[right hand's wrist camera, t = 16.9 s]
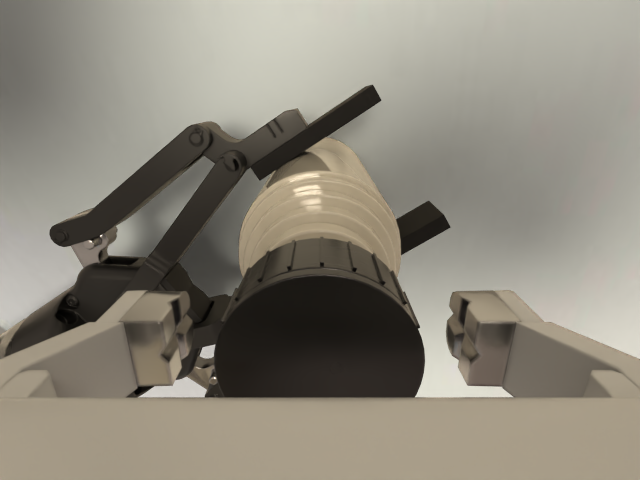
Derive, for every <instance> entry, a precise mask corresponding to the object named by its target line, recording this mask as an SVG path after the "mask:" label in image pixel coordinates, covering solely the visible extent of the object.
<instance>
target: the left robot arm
mask: <svg viewBox="0 0 640 480" xmlns="http://www.w3.org/2000/svg"><path fill="white" fill-rule="evenodd" d="M380 101H381V99H380V97H379V95H378V93H377V91H376V90H375V88H374V86H373V85H370V86H366V87H364V88H363V89H361V90H360V91H358V92H357V93H355V94H354V95H352V96H351V97H349V98H348V99H346V100H345V101H343V102H342V103H340V104H339V105H337V106H336V107H334V108H333V109H332V110H330V111H329V112H327V113H326V114H324V115H323V116H321V117H320V118H318V119H317V120H315V121H314V122H312V123H311V124H309V125H308V124H307V123H306V121H305V120H304V118H303V116H302V115H301V113H300V112H299V110H298V109H293V110H288V111H285V112H283V113H282V114H280V115H279V116H277V117H276V118H274V119H273V120H272V121H270V122H269V123H267V124H266V125H264V126H263V127H261V128H260V129H259V130H257V131H256V132H254V133H253V134H251V135H250V136H248V137H247V138H246V139H242V140H240V139H235V138H233V137H231V136H229V135H228V134H227V133H225V132H224V131H223V130H221V128H220V126H219V125H218V124H216V123H214V122H203V123H199V124H194V125H191V126H189V127H187V128H186V129H185V130H184V131H183V132H181V133H180V134H179V135H178V136H177V137H176V138H174V139H173V140H172V141H171V142H170V143H169V144H167V145H166V146H165V147H164V148H163V149H162V150H161V151H159V152H158V153H157V154H156V155H155V156H154V157H152V158H151V159H150V160H149V161H148V162H147V163H146V164H144V165H143V166H142V167H141V168H140V169H139V170H137V171H136V172H135V173H134V174H133V175H132V176H131V177H129V178H128V179H127V180H126V181H125V182H124V183H122V184H121V185H120V186H119V187H118V188H117V189H115V190H114V191H113V192H112V193H111V194H110V195H109V196H107V197H106V198H105V199H104V200H103V201H102V202H100V203H99V204H98V205H97V206H96V207H95V208H92V209H89V210H86V211H83V212H81V213H79V214H77V215H75V216H73V217H71V218H69V219H66V220H64V221H62V222H60V223H58V224H56V225H54V226H53V227H52V228H51V229H50V237H51V239H52V240H53V242H54V243H56V244H57V245H59V246H62V247H67V246H71V247H72V248H73V250H74V252H75V254H76V255H77V257H78V259H79V260H80V262H81V264H82V266H83V267H84V268H83V269H82V270H81V272H80V273H79V275H78V278H77V281H76V283H75V285H74V286H72V287H71V288H69V289H68V290H66V291H65V292H63V293H62V294H60V295H59V296H57V297H56V298H54V299H53V300H51V301H50V302H48V303H47V304H45V305H44V306H42V307H41V308H39V309H38V310H37V311H35V312H34V313H32V314H31V315H30V316H28V317H27V318H26V319H23V320H22V321H20V322H19V323H17V324H16V325H14V326H13V327H11V328H10V329H8V330H7V331H5V332H4V333H2V334H1V335H0V359H2V358H4V357H7V356H9V355H11V354H14V353H16V352H19V351H21V350H23V349H26V348H28V347H31V346H33V345H35V344H38V343H40V342H43V341H45V340H47V339H50V338H52V337H55V336H57V335H60V334H62V333H64V332H67V331H69V330H72V329H74V328H76V327H79V326H81V325H84V324H86V323H88V322H96V321H97V320H98V319H99V318H100V317H101V316H102V315H103V314H104V313H105V312H106V311H107V310H108V309H109V308H110V307H111V306H112V305H113V304H114V303H115V302H116V301H117V300H118V299H119V298H120V297H121V296H122V295H123V294H124V293H126V292H127V291H136V290H148V291H186V292H187V293H188V295H189V299H190V304H191V307H190V308H189V310H188V312H187V313H186V314H187V315H188V316H189V317H190V318H191V319H192V320H193V326H194V339H193V344H192V348H191V350H190V352H189V354H188V356H186V357H185V358H183V359H182V360H181V363H182V368H181V370H180V372H179V374H178V376H177V378H176V380H178V379H182V378H184V377H186V376H187V377H188V378H190V379H191V380H193V381H195V382H196V383H198V384H199V385H201V386H202V387H204V388H205V389H207V392H206V394H205V397H224V396H223V394H222V392H221V390H220V388H219V385H218V382H217V378H216V374H215V368H214V357H212V358H209V359H205V358H202V357H200V353H201V350H202V347H205V346H210V345H214V344H216V341H217V338H218V335H219V332H220V329H221V327H222V325H223V324H220V323H221V320H222V318H223V316H224V313H225V311H226V309H227V307H228V304H229V302H230V300H231V297H232V296H228V295H226V294H224V295H219V296H215V297H211V298H208V297H207V296H206V294H205V293H204V292H203V291H201V290H200V289H199V288H197V287H196V286H194V285H193V284H192V282H191V280H190V278H189V276H188V274H187V272H186V271H185V270H184V268H183V267H182V266H181V265H180V264H179V261H180V259H181V258H182V256H183V255H184V254H185V252H186V251H187V250H188V248H189V247H190V245H191V244H192V243H193V241H194V240H195V239H196V237H197V236H198V235H199V233H200V232H201V231H202V229H203V228H204V227H205V225H206V224H207V223H208V221H209V220H210V219H211V217H212V216H213V215H214V213H215V212H216V211H217V209H218V208H219V207H220V205H221V204H222V202H223V201H224V200H225V198H226V197H227V196H228V194H229V193H230V192H231V190H232V189H233V188H234V186H235V185H236V184H237V182H238V181H239V180H240V178H241V177H242V176H243V174H244V173H245V172H246V170H247V169H249V168H250V167H251V169H252V170H253V172H254V173H255V174H256V176H257V177H258V179H259V180H261V179H263V178H265V177H266V176H268V175H269V174H271V173H272V172H274V171H275V170H277V169H278V168H280V167H281V166H283V165H284V164H285V163H287V162H289V161H290V160H292V159H293V158H295V157H296V156H298V155H299V154H301V153H302V152H304V151H306V150H307V149H309V148H310V147H312V146H313V145H315V144H316V143H318V142H319V141H321V140H322V139H324V138H325V137H327V136H328V135H330V134H331V133H333V132H334V131H336V130H337V129H339V128H340V127H342V126H343V125H345V124H347V123H348V122H350V121H351V120H353V119H354V118H356V117H357V116H359V115H360V114H362V113H363V112H365V111H366V110H368V109H369V108H371V107H372V106H374V105H375V104H377V103H378V102H380ZM203 156H206V157H207V158H208V159H210V160H211V161H213V162H214V163H215V165H214V167H213V168H212V169H211V171H210V172H209V174H208V175H207V176H206V178H205V179H204V181H203V182H202V183H201V185H200V186H199V188H198V189H197V190H196V192H195V193H194V195H193V196H192V197H191V199H190V200H189V202H188V203H187V204H186V206H185V207H184V209H183V210H182V211H181V213H180V214H179V216H178V217H177V218H176V220H175V221H174V223H173V224H172V225H171V227H170V228H169V230H168V231H167V232H166V234H165V235H164V237H163V238H162V239H161V241H160V242H159V244H158V245H157V246H156V248H155V249H154V251H153V252H152V253H151V254H150V255H149V256H148V258H145V257H126V256H108V253H107V248H108V246H109V245H110V244H111V243H112V242H114V241H115V240H116V237H117V234H116V233H117V227H116V225H118V224H120V223H121V222H123V221H124V220H126V219H128V218H129V217H130V216H132V215H133V214H134V213H136V212H137V211H138V210H139V209H140V208H142V207H143V206H144V205H145V204H146V203H148V202H149V201H150V200H151V199H152V198H154V197H155V196H156V195H157V194H158V193H160V192H161V191H162V190H163V189H165V188H166V187H167V186H168V185H169V184H171V183H172V182H173V181H174V180H175V179H177V178H178V177H179V176H180V175H181V174H183V173H184V172H185V171H186V170H187V169H189V168H190V167H191V166H192V165H193V164H195V163H196V162H197V161H198V160H199V159H201V158H202V157H203ZM396 221H397V225H398V228H399V232H400V239H401V255H402V254H404V253H406V252H408V251H409V250H411V249H413V248H415V247H416V246H418V245H420V244H422V243H424V242H425V241H427V240H429V239H431V238H432V237H434V236H436V235H438V234H440V233H441V232H443V231H445V230H447V229H449V228H450V225H449V224H448V222H447V220H446V218H445V216H444V215H443V214H442V213H441V212H440V211H439V210H438V209H437V208H436V207H435V206H434V205H433V204H432V203H431V202H430V201H427V202H425V203H424V204H422V205H420V206H419V207H417V208H415V209H413V210H412V211H410V212H408V213H407V214H405V215H403V216H401V217H400V218H398V219H396ZM153 387H154V386H139V387H137V389H136V390H135V391H133V392H132V393H131V394H129V395H128V396H127V397H126V398H137V397H139V396H141V395H142V394H144V393H145V392H147V391H148V390H150V389H151V388H153Z"/></svg>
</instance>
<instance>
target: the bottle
mask: <svg viewBox="0 0 640 480" xmlns="http://www.w3.org/2000/svg"><path fill="white" fill-rule="evenodd" d="M320 237H324V238H328V239H336V240H341V241H345V242H348V241H351V242H352V244H354V245H357V246H359V247H361V248H363V249H365V250H367V251H369V252H370V253H372V254H373V253H375V254H376V256H377V258H379V259H380V260H381V261H382V262H383V263H384V264H385V265H386V266H387V267H388V268H389V269H390V271H392V270H393V271H394V272H395V275H396V277H397V276H398V272H399V269H400V262H401V239H400V232H399V228H398V225H397V221H396V219H395V217H394V215H393V212H392V211H391V209H390V207H389V206H388V204H387V203H386V201H385V199H384V198H383V196H382V195H381V193H380V192H379V190H378V188H377V187H376V185H375V184H374V182H373V180H372V179H371V177H370V176H369V174H368V172H367V171H366V169H365V168H364V166H363V164H362V163H361V161H360V160H359V158H358V157H357V155H356V154H355V153H354V152H353V150H351V149H350V148H349V147H348V146H347V145H345V144H344V143H342V142H340V141H338V140H335V139H332V138H327V137H325V138H324V139H322V140H321V141H319V142H318V143H316V144H315V145H313V146H312V147H310V148H309V149H307V150H306V151H304V152H302V153H301V154H299V155H298V156H296V157H295V158H293V159H292V160H290V161H289V162H287V163H285V164H284V165H283V166H281V167H280V168H278V169H277V170H275V171H274V172H272V174H271V175H270V177H269V179H268V180H267V182H266V183H265V185H264V186H263V188H262V189H261V191H260V193H259V194H258V196H257V197H256V199H255V200H254V202H253V204H252V205H251V207H250V208H249V210H248V212H247V213H246V216H245V218H244V221H243V223H242V227H241V230H240V236H239V265H240V271H241V274H242V277H244V275H245V273H246V270H247V268H248V267H250V268H251V267H252V266H253V265H254V264H255V263H256V262H257V261H258V260H259V259H260V258H262V257H263V256H264V255H266V252H267V251H272V250H274V249H276V248H278V247H280V246H282V245H285V244H287V243H291V242H292V240H295V241H298V240H303V239H310V238H320Z"/></svg>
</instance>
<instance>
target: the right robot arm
mask: <svg viewBox="0 0 640 480" xmlns="http://www.w3.org/2000/svg"><path fill="white" fill-rule="evenodd" d="M190 307H191V304H190V299H189V295H188V293H187V292H186V291H148V290H136V291H127V292H126V293H124V294H123V295H122V296H121V297H120V298H119V299H118V300H117V301H116V302H115V303H114V304H113V305H112V306H111V307H110V308H109V309H108V310H107V311H106V312H105V313H104V314H103V315H102V316H101V317H100V318H99V319H98V320H97V321H96V322H88V323H86V324H84V325H81V326H79V327H76V328H74V329H72V330H69V331H67V332H64V333H62V334H60V335H57V336H55V337H52V338H50V339H47V340H45V341H43V342H40V343H38V344H35V345H33V346H31V347H28V348H26V349H23V350H21V351H19V352H16V353H14V354H11V355H9V356H7V357H4V358H2V359H0V480H640V359H638V358H636V357H633V356H631V355H628V354H626V353H624V352H621V351H619V350H616V349H614V348H612V347H609V346H607V345H604V344H602V343H600V342H597V341H595V340H592V339H590V338H588V337H585V336H583V335H580V334H578V333H576V332H573V331H571V330H568V329H566V328H564V327H561V326H559V325H556V324H554V323H552V322H544V321H543V320H542V319H541V318H540V317H539V316H538V315H537V314H536V313H535V312H534V311H533V310H532V309H531V308H530V307H529V306H528V305H527V304H526V303H525V302H524V301H523V300H522V299H521V298H520V297H519V296H518V295H517V294H516V293H515V292H514V291H510V290H500V291H493V290H492V291H456V292H453V293H452V295H451V298H450V304H449V307H450V308H451V310H452V312H453V313H454V314H453V315H452V316H451V317H450V318H449V319H448V320H447V327H446V338H447V344H448V348H449V350H450V352H451V354H452V356H454V357H455V358H457V359H458V360H459V363H458V368H459V370H460V372H461V374H462V376H463V378H464V380H465V382H466V383H467V385H468V386H501V387H502V388H503V389H504V390H506V391H507V392H508V393H509V394H511V395H512V396H513V397H199V398H196V397H194V398H126V397H127V396H128V395H129V394H131V393H132V392H133V391H135V390H136V389H137V387H139V386H173V384H174V382H175V380H176V378H177V376H178V374H179V372H180V370H181V368H182V363H181V360H182V359H183V358H185V357H186V356H188V354H189V352H190V350H191V348H192V344H193V339H194V326H193V320H192V319H191V318H190V317H189V316H188V315H187V314H186V313H187V312H188V310H189V308H190Z"/></svg>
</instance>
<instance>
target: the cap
mask: <svg viewBox="0 0 640 480" xmlns="http://www.w3.org/2000/svg"><path fill="white" fill-rule="evenodd" d="M220 324H223V325H222V327H221V329H220V332H219V335H218V338H217V341H216V345H215V351H214V368H215V374H216V378H217V382H218V385H219V388H220V390H221V392H222V394H223V396H224V397H415V396H416V394H417V392H418V389H419V387H420V385H421V381H422V378H423V374H424V366H425V354H424V346H423V342H422V338H421V335H420V333H419V331H418V328H420V326H419V323H418V321H417V319H416V317H415V314H414V312H413V310H412V307H411V305H410V303H409V300H408V298H407V296H406V293H405V292H403V291H402V289H401V286H400V284H399V282H398V279H397V277H396V275H395V272H394V271H393V270H392V271H390V269H389V268H388V267H387V266H386V265H385V264H384V263H383V262H382V261H381V260H380V259H379V258H377V256H376V254H375V253H373V254H372V253H370V252H369V251H367V250H365V249H363V248H361V247H359V246H357V245H354V244H352V242H351V241H348V242H345V241H341V240H336V239H328V238H324V237H320V238H310V239H303V240H298V241H295V240H292V242H291V243H287V244H285V245H282V246H280V247H278V248H276V249H274V250H272V251H267V252H266V255H264V256H263V257H262V258H260V259H259V260H258V261H257V262H256V263H255V264H254V265H253V266H252V267H251V268H250V267H248V268H247V270H246V273H245V275H244V277H243V280H242V282H241V284H240V285H239V288H235V291H234V293H233V295H232V297H231V300H230V302H229V304H228V307H227V309H226V311H225V313H224V316H223V318H222V320H221V323H220Z"/></svg>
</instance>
